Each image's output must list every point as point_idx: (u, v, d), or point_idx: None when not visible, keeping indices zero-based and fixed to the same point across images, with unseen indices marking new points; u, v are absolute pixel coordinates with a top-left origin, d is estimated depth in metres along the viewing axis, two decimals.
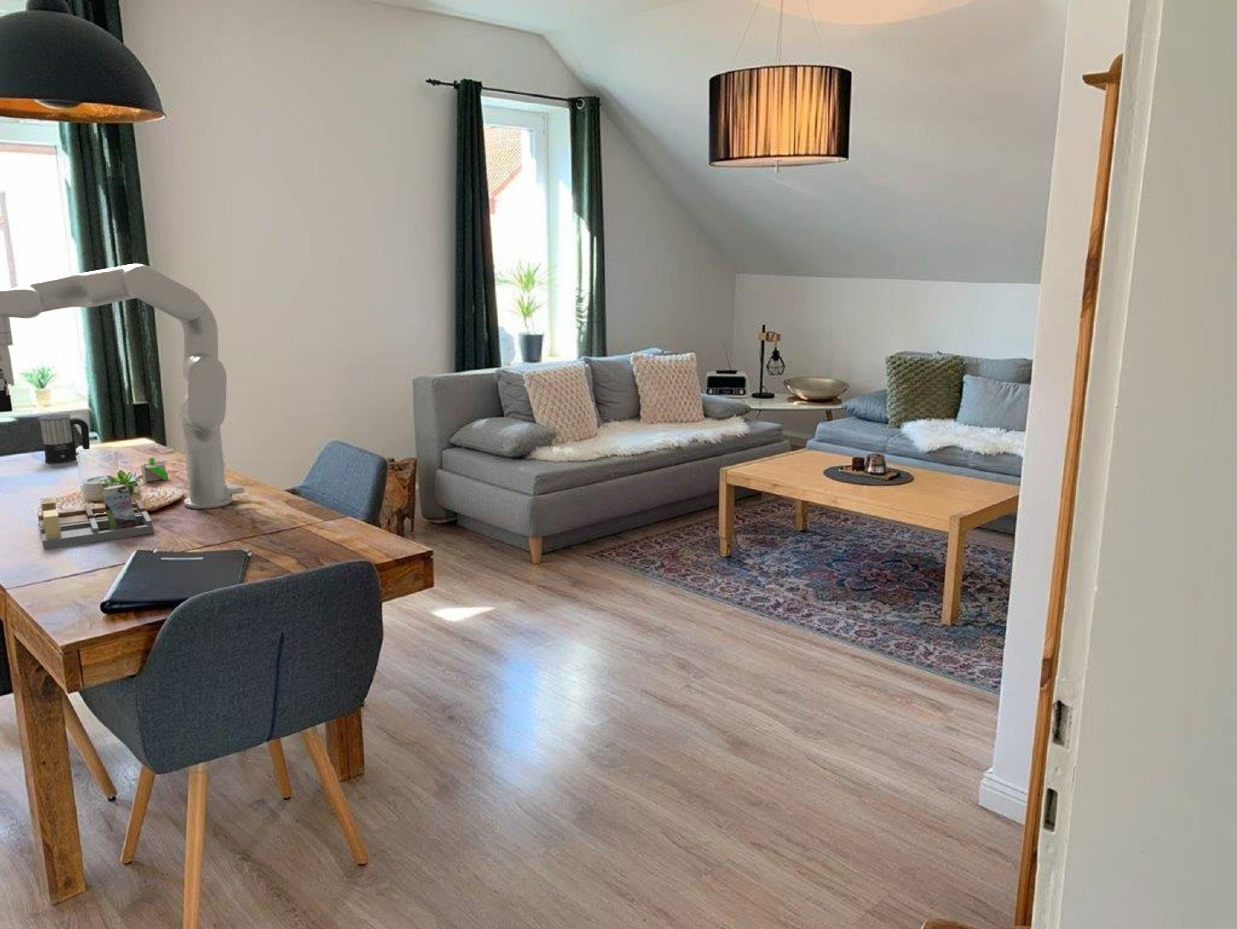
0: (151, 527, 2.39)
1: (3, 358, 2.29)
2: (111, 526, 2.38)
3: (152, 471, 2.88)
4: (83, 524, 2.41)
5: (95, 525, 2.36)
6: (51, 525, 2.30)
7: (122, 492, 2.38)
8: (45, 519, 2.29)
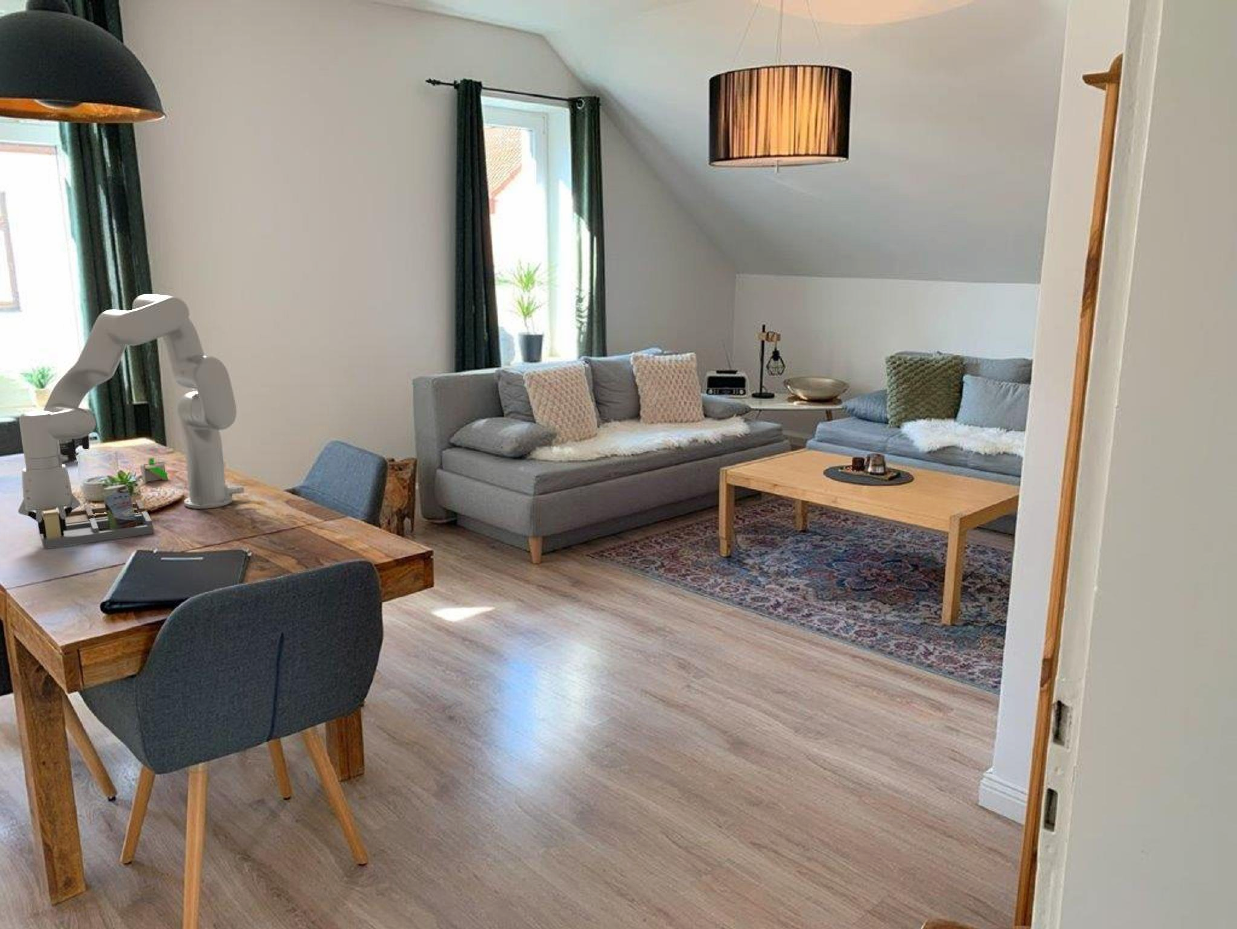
0: (151, 527, 2.39)
1: None
2: (111, 526, 2.38)
3: (151, 471, 2.88)
4: (83, 524, 2.41)
5: (95, 525, 2.36)
6: (51, 525, 2.30)
7: (122, 492, 2.38)
8: (45, 519, 2.29)
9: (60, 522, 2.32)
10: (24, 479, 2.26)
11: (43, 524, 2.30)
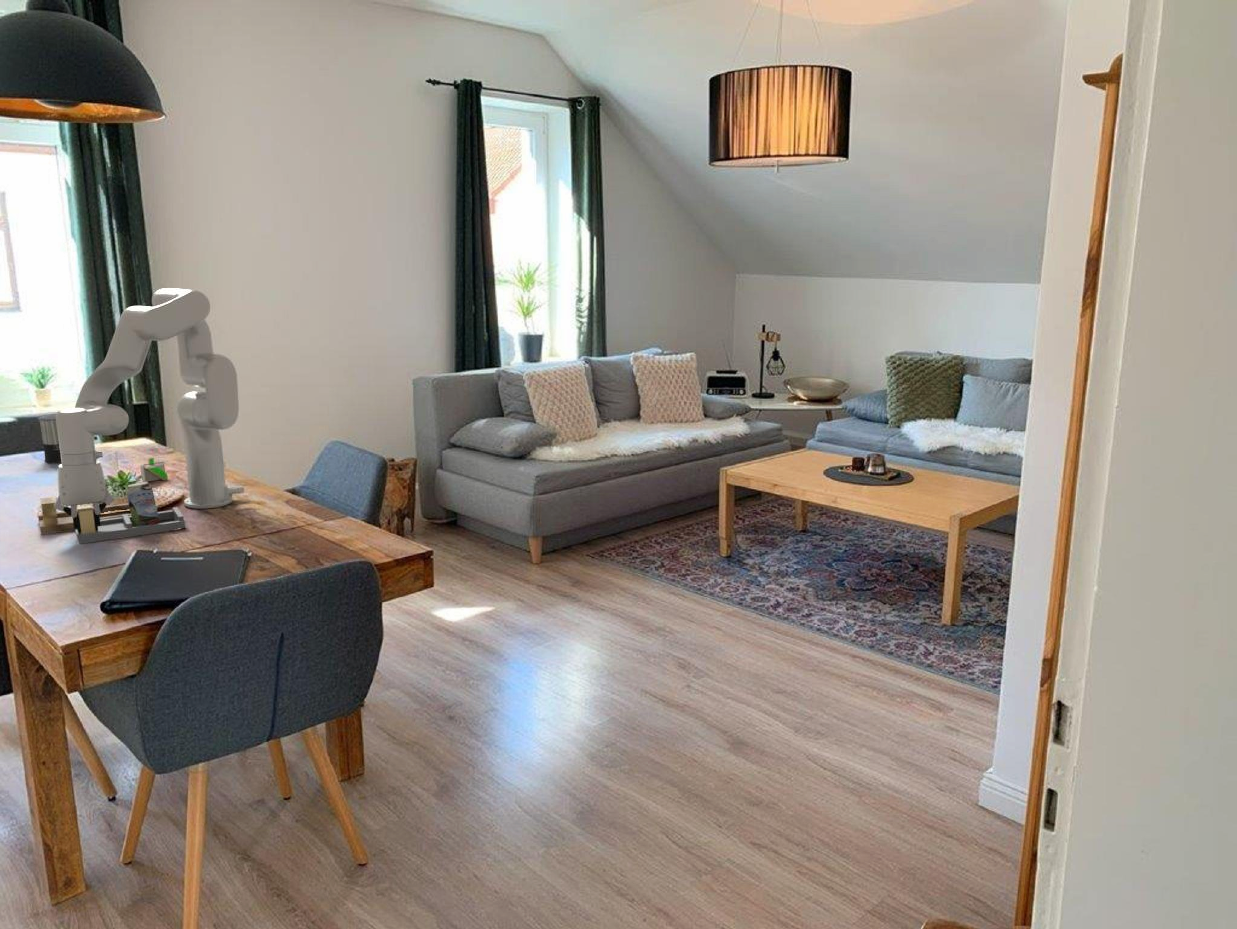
0: (183, 523, 2.43)
1: None
2: (134, 523, 2.41)
3: (151, 471, 2.87)
4: (116, 520, 2.44)
5: (128, 520, 2.40)
6: (86, 521, 2.34)
7: (146, 489, 2.40)
8: (80, 514, 2.33)
9: (94, 517, 2.36)
10: (60, 475, 2.30)
11: (78, 519, 2.34)
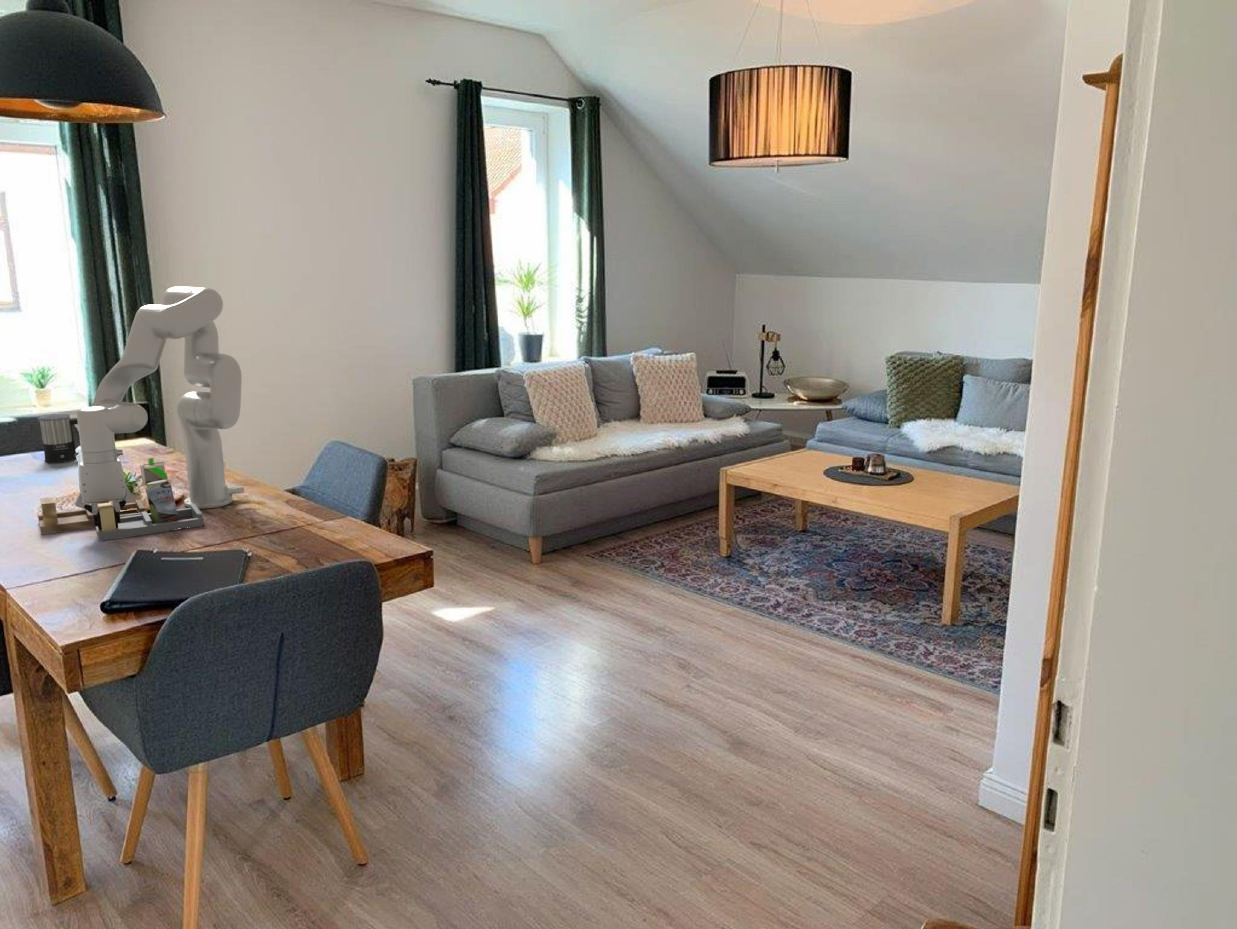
0: (202, 520, 2.46)
1: None
2: (154, 520, 2.43)
3: (151, 471, 2.87)
4: (135, 517, 2.47)
5: (148, 517, 2.42)
6: (107, 518, 2.36)
7: (165, 487, 2.43)
8: (101, 512, 2.35)
9: (115, 515, 2.38)
10: (81, 473, 2.32)
11: (99, 517, 2.36)
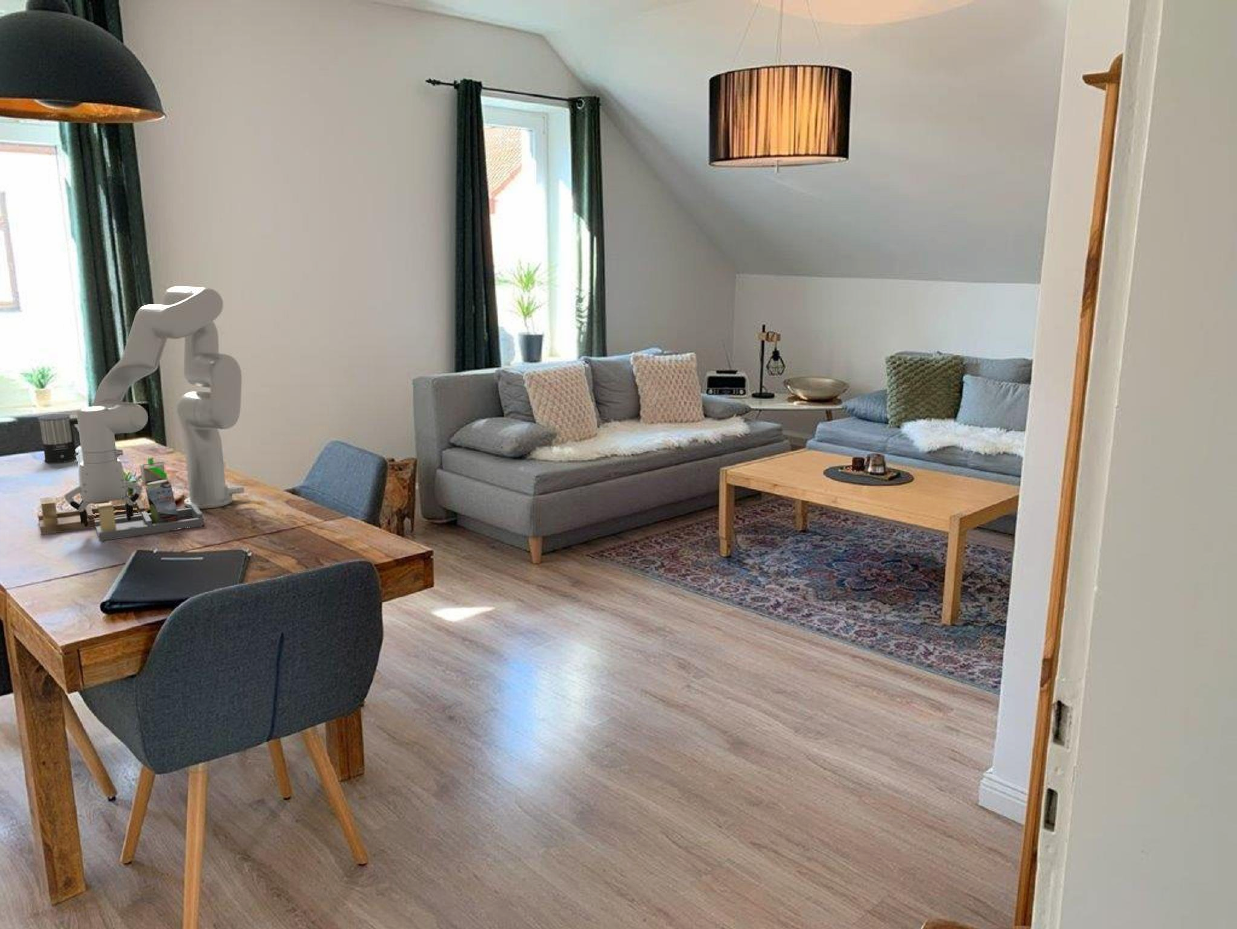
0: (202, 520, 2.46)
1: None
2: (154, 520, 2.43)
3: (151, 471, 2.87)
4: (135, 517, 2.47)
5: (148, 517, 2.42)
6: (107, 518, 2.36)
7: (165, 487, 2.43)
8: (101, 512, 2.35)
9: (128, 508, 2.40)
10: (81, 473, 2.32)
11: (85, 514, 2.35)
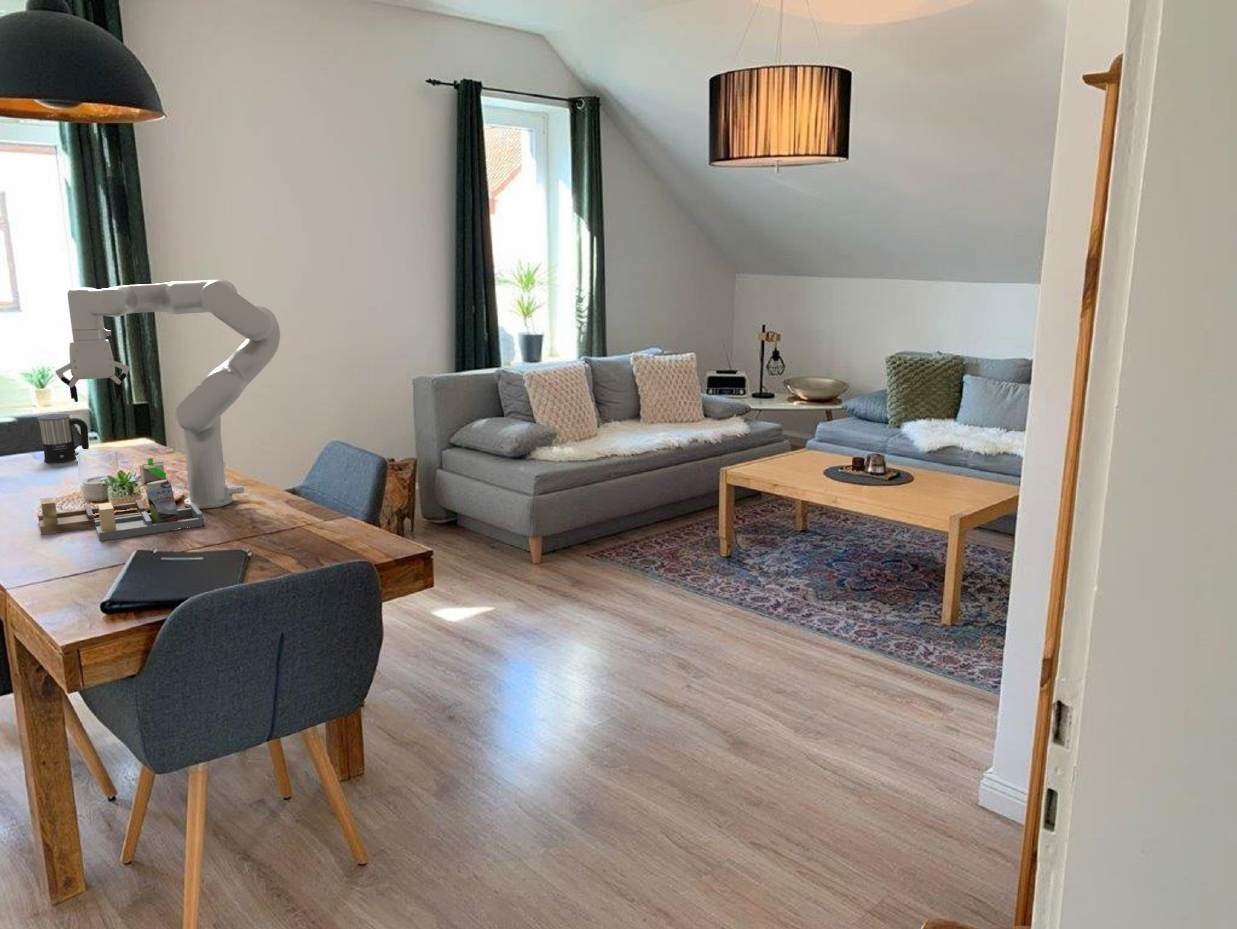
0: (202, 520, 2.46)
1: None
2: (154, 520, 2.43)
3: (150, 471, 2.87)
4: (135, 517, 2.47)
5: (148, 517, 2.42)
6: (107, 518, 2.36)
7: (165, 487, 2.43)
8: (101, 512, 2.35)
9: (115, 386, 2.54)
10: (72, 349, 2.46)
11: (75, 389, 2.49)
